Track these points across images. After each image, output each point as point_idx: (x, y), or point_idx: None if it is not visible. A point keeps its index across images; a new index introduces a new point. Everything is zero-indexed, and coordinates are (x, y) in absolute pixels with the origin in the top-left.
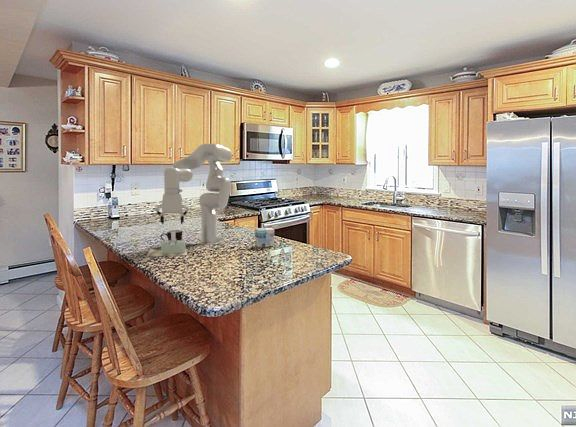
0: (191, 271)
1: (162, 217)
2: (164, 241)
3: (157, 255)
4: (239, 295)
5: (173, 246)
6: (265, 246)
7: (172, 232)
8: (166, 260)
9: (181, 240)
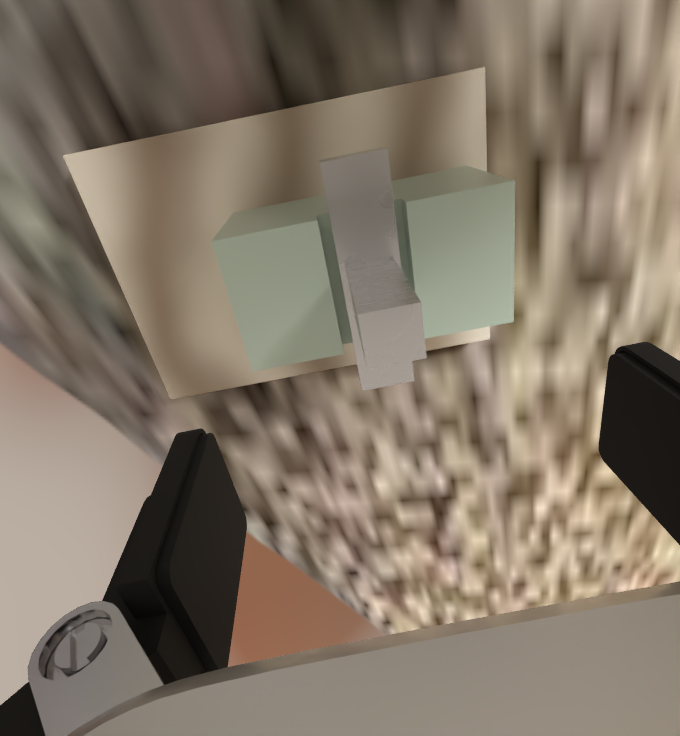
0: (527, 574)
1: (214, 667)
2: (261, 296)
3: (250, 368)
4: None
5: None
6: None
7: (386, 362)
8: (343, 407)
9: (465, 220)
